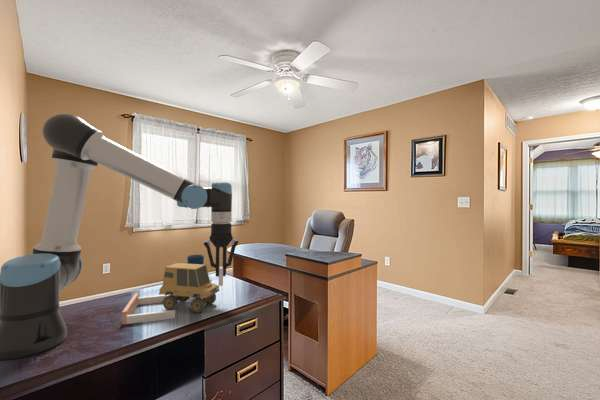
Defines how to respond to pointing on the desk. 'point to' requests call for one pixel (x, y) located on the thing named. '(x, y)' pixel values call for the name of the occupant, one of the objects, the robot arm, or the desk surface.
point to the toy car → (188, 286)
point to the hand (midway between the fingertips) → (220, 284)
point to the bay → (145, 317)
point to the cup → (195, 259)
